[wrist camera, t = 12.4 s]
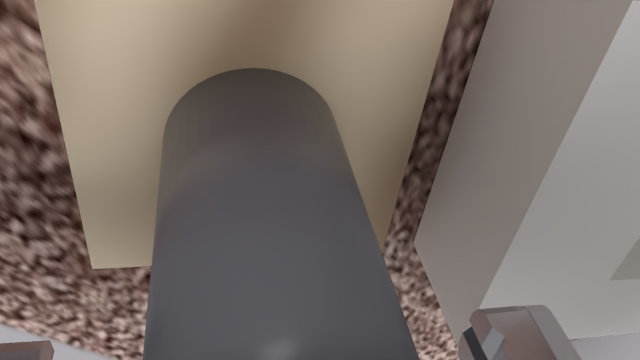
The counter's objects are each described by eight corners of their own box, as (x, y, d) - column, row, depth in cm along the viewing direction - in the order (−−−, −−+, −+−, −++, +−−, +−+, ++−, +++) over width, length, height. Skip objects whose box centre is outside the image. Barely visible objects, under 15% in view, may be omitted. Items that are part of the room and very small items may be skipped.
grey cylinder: (349, 70, 14) (458, 314, 8) (324, 207, 17) (391, 456, 11) (157, 64, 13) (121, 338, 7) (167, 211, 16) (149, 488, 10)
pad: (438, -37, 14) (459, -17, 13) (371, 227, 21) (381, 255, 19) (39, -68, 12) (23, -48, 11) (98, 236, 18) (92, 268, 17)
